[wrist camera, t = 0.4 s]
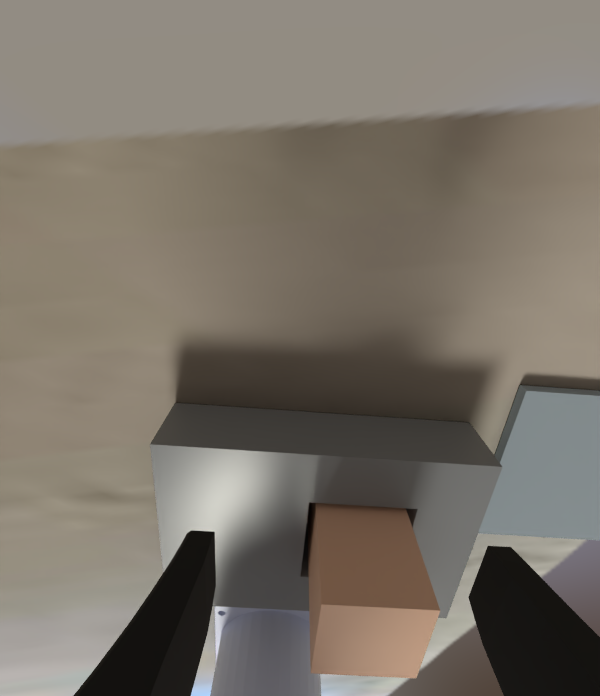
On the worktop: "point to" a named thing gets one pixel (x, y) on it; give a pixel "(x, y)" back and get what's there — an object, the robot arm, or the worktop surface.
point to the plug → (367, 592)
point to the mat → (548, 466)
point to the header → (313, 491)
